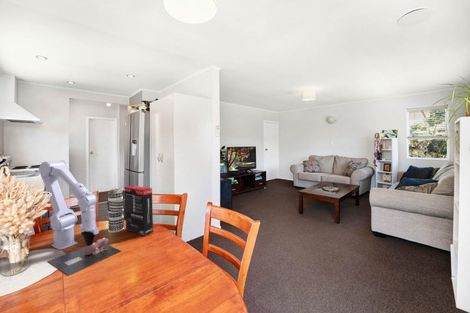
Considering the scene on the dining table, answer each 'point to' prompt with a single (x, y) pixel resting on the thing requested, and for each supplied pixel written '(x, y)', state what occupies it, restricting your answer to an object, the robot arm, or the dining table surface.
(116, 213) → the decorative candle
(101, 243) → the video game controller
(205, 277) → the dining table surface
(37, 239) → the dining table surface
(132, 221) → the graphics card box
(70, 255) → the panel
